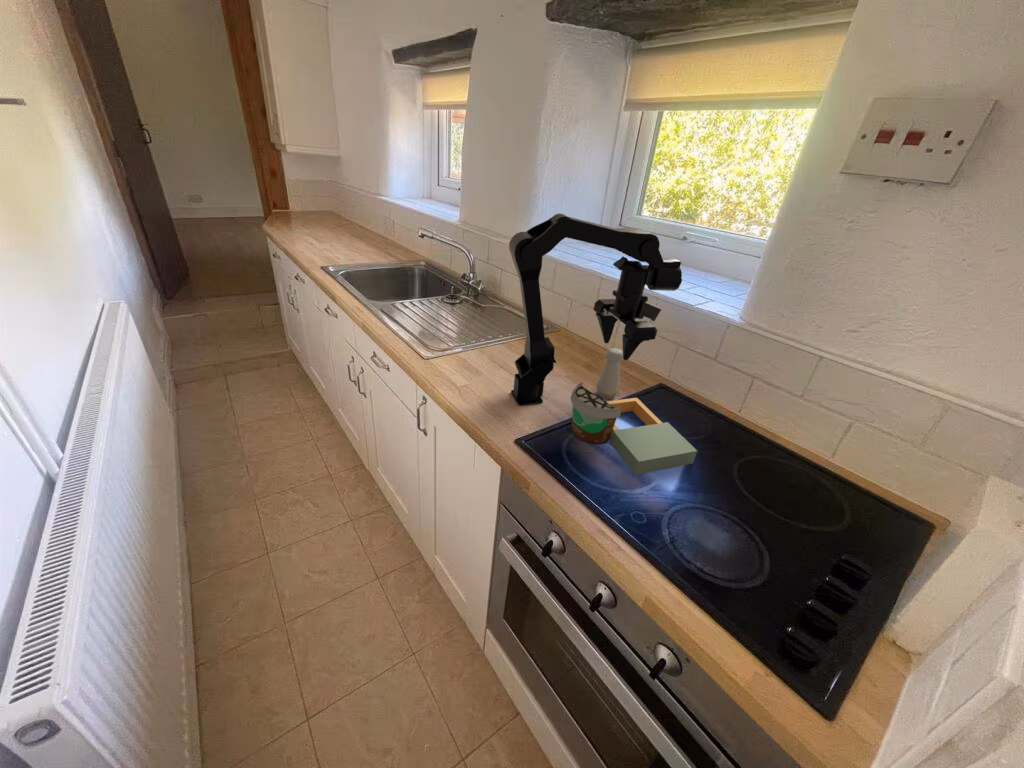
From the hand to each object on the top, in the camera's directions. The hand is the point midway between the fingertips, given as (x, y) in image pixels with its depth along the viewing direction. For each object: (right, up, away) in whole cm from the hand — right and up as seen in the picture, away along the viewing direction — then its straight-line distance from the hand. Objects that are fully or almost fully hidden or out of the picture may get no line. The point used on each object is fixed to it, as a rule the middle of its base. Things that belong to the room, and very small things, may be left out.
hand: (615, 351), depth 100 cm
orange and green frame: (+3, -20, -9) cm, 22 cm away
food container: (-10, -20, -9) cm, 24 cm away
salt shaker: (-1, -11, +6) cm, 13 cm away
